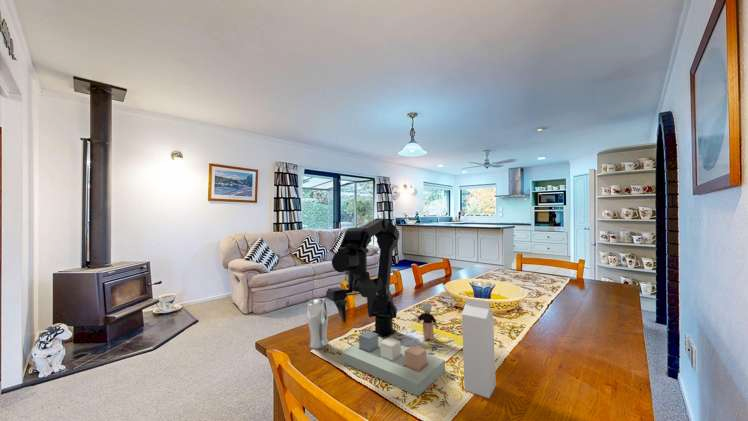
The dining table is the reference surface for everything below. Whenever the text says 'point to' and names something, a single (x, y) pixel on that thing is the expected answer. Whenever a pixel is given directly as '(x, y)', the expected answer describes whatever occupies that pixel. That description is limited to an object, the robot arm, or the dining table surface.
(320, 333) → the beer glass
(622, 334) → the dining table surface
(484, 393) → the milk
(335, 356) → the dining table surface
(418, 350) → the terracotta key
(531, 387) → the dining table surface
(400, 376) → the console
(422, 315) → the grandmother figurine
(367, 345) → the slate key
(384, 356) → the light grey cube
